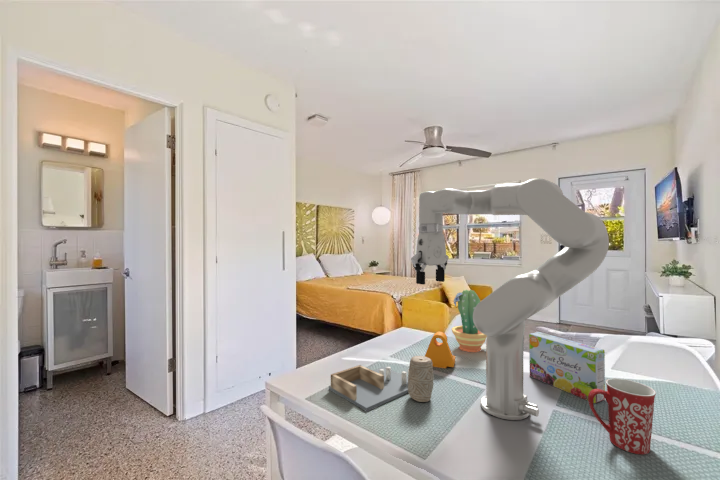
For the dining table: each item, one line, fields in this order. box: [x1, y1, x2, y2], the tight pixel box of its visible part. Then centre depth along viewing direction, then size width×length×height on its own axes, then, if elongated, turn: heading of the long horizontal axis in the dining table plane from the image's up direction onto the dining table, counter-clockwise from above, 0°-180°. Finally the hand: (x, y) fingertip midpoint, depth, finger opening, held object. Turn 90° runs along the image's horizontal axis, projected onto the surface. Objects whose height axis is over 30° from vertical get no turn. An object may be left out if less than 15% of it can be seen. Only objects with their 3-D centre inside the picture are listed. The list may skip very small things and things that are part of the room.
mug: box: [587, 377, 657, 455], centre depth 78 cm, size 13×9×14 cm
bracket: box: [424, 331, 456, 369], centre depth 127 cm, size 11×7×12 cm, turn 68°
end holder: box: [330, 364, 384, 400], centre depth 105 cm, size 12×12×4 cm
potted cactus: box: [451, 289, 487, 353], centre depth 144 cm, size 15×15×25 cm
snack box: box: [528, 331, 606, 404], centre depth 106 cm, size 21×6×15 cm, turn 27°
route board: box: [328, 366, 409, 412], centre depth 107 cm, size 18×24×5 cm
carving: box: [407, 355, 435, 403], centre depth 100 cm, size 6×8×12 cm
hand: (430, 282), depth 110 cm, fingers open, 9 cm apart
